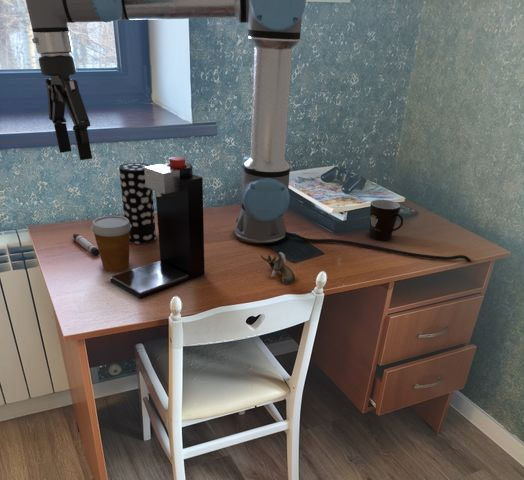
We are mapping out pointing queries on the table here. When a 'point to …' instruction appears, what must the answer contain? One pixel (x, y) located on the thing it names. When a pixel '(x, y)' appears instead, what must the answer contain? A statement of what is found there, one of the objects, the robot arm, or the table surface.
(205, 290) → the table surface
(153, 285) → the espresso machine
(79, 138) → the robot arm
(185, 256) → the tower
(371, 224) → the coffee mug
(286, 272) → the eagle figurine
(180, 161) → the button
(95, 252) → the marker
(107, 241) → the disposable coffee cup
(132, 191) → the spotted tube
